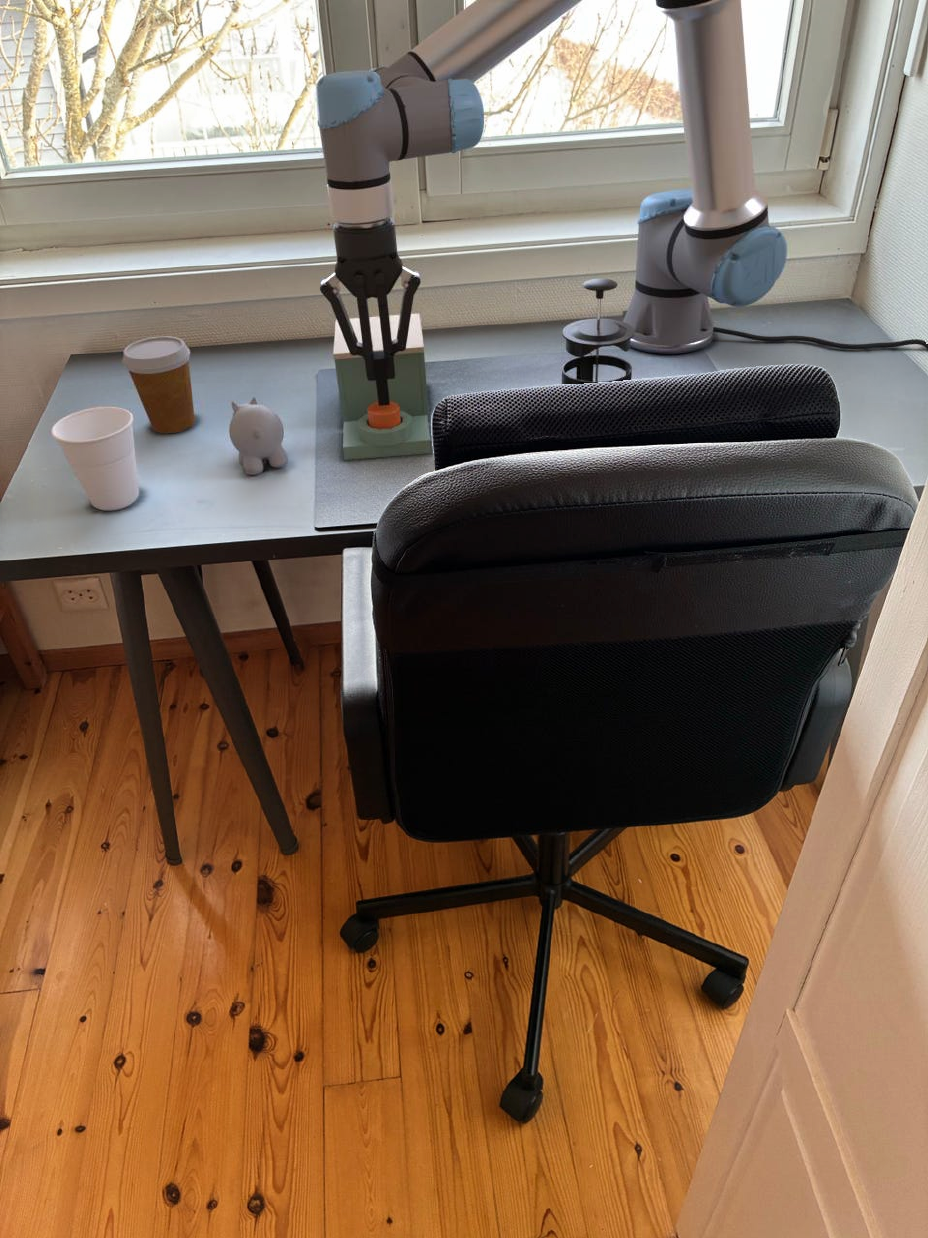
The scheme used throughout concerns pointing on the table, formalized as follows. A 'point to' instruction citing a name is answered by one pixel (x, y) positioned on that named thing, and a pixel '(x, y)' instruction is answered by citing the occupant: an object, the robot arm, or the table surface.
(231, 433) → the round bodied animal figurine
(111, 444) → the cup
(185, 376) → the disposable coffee cup
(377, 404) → the button
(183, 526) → the table surface
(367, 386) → the coffee maker
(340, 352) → the lid
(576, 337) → the french press
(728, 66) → the robot arm
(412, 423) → the control block
